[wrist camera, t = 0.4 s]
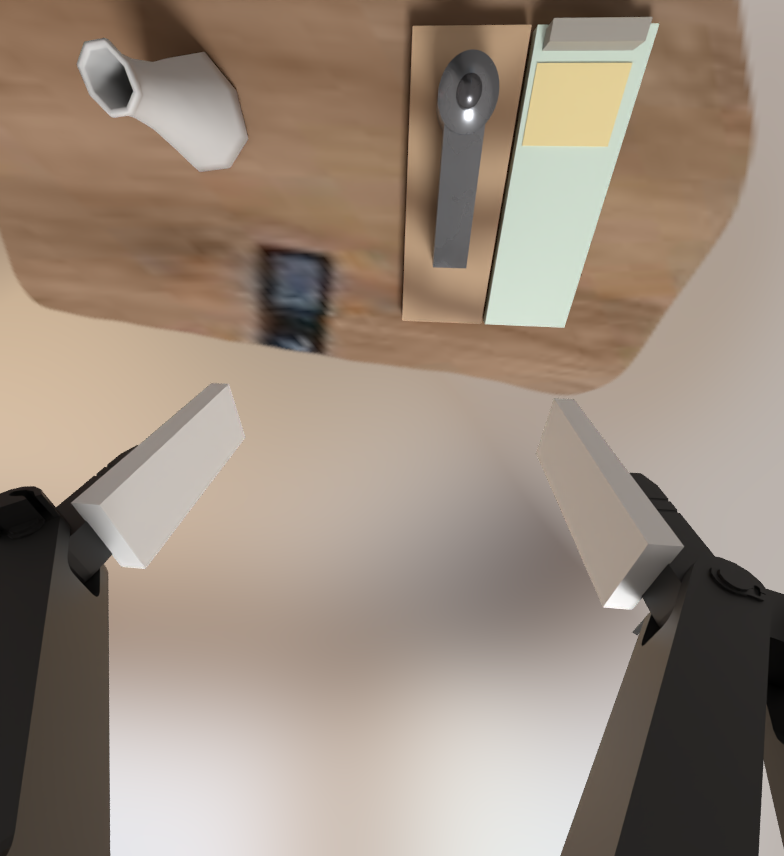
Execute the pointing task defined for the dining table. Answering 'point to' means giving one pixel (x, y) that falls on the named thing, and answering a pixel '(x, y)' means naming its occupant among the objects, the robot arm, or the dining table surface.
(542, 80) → the door panel
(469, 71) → the latch bar
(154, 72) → the flask
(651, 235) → the dining table surface
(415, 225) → the board
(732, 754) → the robot arm
